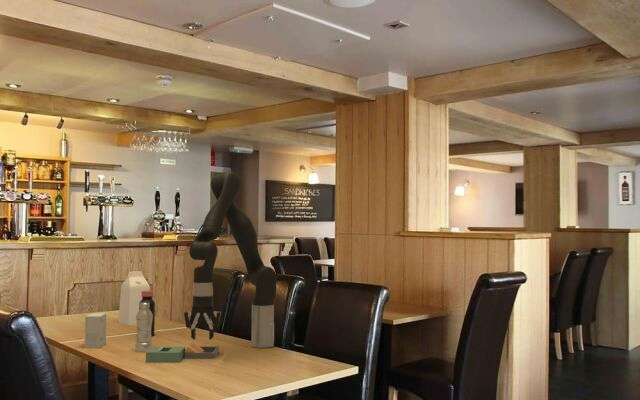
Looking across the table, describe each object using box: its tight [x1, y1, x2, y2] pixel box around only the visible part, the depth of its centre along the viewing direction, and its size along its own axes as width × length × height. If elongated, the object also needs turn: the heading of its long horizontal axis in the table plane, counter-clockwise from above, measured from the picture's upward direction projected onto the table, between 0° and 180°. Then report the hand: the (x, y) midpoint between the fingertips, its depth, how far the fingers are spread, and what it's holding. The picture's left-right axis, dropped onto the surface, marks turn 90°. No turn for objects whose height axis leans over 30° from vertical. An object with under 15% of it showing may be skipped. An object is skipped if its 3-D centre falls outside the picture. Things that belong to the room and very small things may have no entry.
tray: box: [183, 345, 220, 360], centre depth 229 cm, size 11×12×4 cm
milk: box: [118, 270, 151, 326], centre depth 308 cm, size 12×12×26 cm
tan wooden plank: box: [185, 341, 204, 353], centre depth 229 cm, size 2×6×9 cm
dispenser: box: [145, 345, 186, 364], centre depth 222 cm, size 12×10×5 cm
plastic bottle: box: [135, 302, 154, 353], centre depth 237 cm, size 6×7×20 cm
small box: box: [84, 312, 107, 349], centre depth 251 cm, size 8×6×13 cm
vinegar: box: [139, 290, 156, 337], centre depth 275 cm, size 7×7×20 cm
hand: (202, 338), depth 229 cm, fingers open, 5 cm apart
